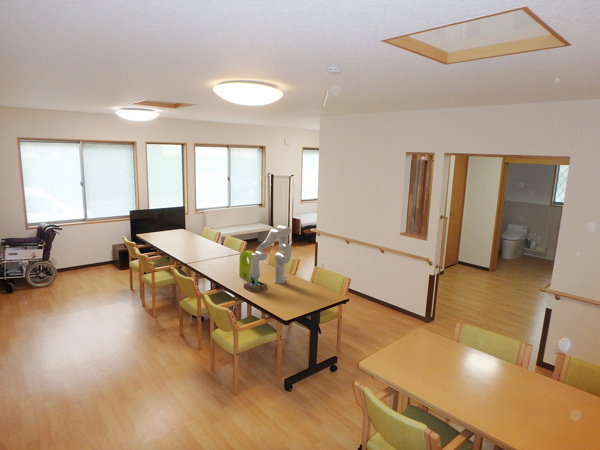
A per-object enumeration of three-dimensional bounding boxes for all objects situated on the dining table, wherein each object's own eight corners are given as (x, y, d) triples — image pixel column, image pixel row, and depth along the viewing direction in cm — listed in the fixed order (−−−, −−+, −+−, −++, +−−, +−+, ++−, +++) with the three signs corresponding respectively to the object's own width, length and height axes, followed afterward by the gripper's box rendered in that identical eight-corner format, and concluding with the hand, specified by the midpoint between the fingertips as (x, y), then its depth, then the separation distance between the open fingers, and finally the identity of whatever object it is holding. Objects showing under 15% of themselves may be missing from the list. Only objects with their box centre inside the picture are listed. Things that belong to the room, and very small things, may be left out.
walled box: (255, 284, 383) (256, 280, 382) (266, 288, 372) (266, 284, 371) (243, 288, 371) (243, 283, 370) (254, 292, 360) (254, 288, 360)
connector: (254, 285, 374) (255, 274, 372) (257, 286, 372) (257, 275, 370) (252, 286, 372) (252, 275, 370) (254, 286, 369) (254, 276, 367)
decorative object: (256, 280, 396) (256, 252, 390) (251, 281, 391) (251, 253, 385) (244, 275, 409) (244, 248, 404) (239, 276, 404) (239, 249, 399)
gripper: (258, 263, 377) (258, 280, 380) (246, 266, 364) (245, 284, 368) (263, 264, 372) (263, 282, 375) (251, 268, 359) (250, 286, 363)
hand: (254, 283), depth 371 cm, fingers closed on connector, 3 cm apart
